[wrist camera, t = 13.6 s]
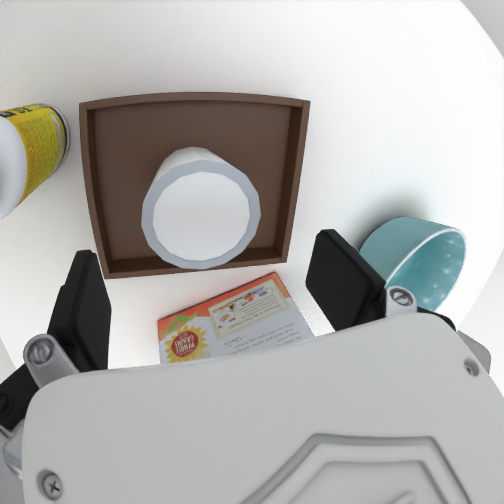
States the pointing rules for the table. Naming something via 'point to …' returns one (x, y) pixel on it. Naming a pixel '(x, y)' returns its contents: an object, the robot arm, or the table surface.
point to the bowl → (417, 258)
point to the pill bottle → (29, 151)
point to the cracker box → (233, 323)
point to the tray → (178, 137)
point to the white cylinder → (199, 210)
